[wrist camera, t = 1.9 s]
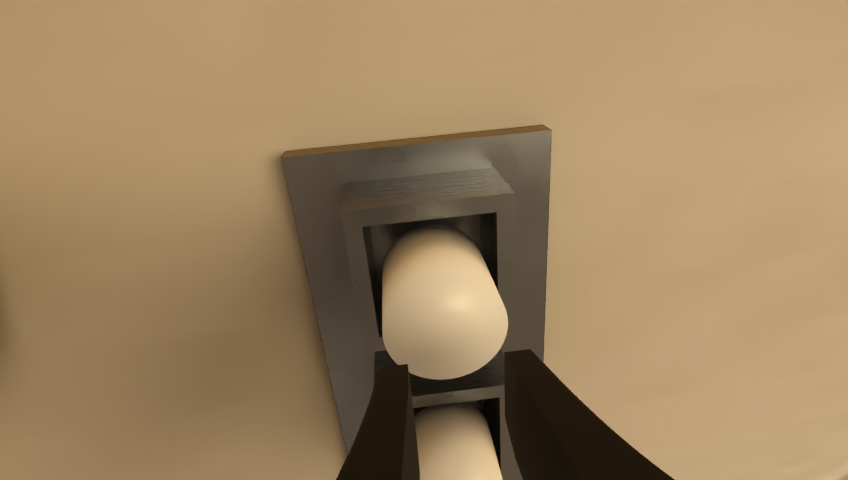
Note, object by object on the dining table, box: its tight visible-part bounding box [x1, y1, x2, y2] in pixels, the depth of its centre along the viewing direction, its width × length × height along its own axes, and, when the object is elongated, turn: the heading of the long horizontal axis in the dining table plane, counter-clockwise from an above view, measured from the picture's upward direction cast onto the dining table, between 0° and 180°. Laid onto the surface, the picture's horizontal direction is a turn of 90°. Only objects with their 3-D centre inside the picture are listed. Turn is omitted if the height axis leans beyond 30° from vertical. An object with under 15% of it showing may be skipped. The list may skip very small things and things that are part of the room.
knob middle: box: [414, 402, 503, 480], centre depth 18 cm, size 4×4×4 cm
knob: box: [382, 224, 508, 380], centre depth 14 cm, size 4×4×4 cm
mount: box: [282, 125, 552, 480], centre depth 21 cm, size 24×10×4 cm, turn 5°
